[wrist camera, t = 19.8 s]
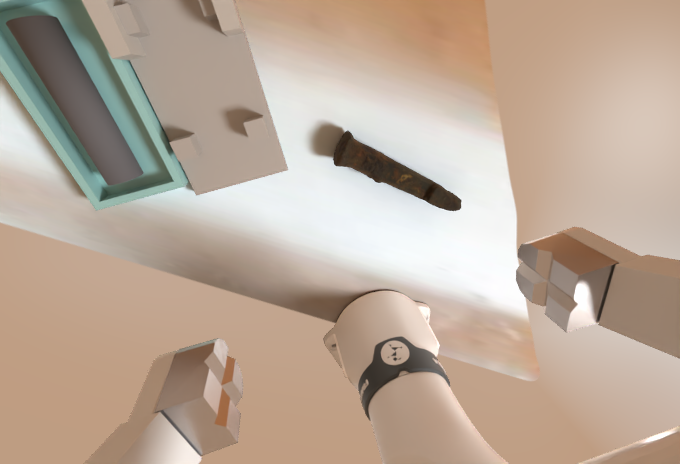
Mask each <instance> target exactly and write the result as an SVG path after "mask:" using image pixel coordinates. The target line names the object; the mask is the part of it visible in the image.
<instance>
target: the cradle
mask: <svg viewBox="0 0 680 464" xmlns="http://www.w3.org/2000/svg"><path fill="white" fill-rule="evenodd" d="M82 2H83V4H84V5H85V7H86V9H87V11H88V13H89V15H90V17H91V19H92V21H93V23H94V25H95V27H96V29H97V31H98V33H99V34H100V36H101V38H102V40H103V42H104V44H105V46H106V48H107V50H108V52H109V54H110V56H111V58H112V59H121V60H130V62H131V64H132V66H133V68H134V70H135V72H136V74H137V76H138V78H139V80H140V82H141V84H142V86H143V88H144V90H145V92H146V94H147V96H148V98H149V100H150V102H151V105H152V107H153V109H154V111H155V113H156V115H157V117H158V119H159V121H160V123H161V125H162V127H163V129H164V131H165V133H166V135H167V137H168V139H169V141H170V142H169V143H170V145H171V147H172V149H173V151H174V153H175V155H176V157H177V159H178V161H179V162H180V163H181V165H182V167H183V169H184V171H185V173H186V175H187V177H188V180H189V182H190V184H191V186H192V188H193V190H194V192H195V194H196V195H200V194H203V193H207V192H210V191H214V190H218V189H221V188H225V187H228V186H232V185H236V184H239V183H243V182H247V181H250V180H254V179H257V178H261V177H265V176H268V175H272V174H275V173H279V172H283V171H286V170H288V168H287V165H286V161H285V158H284V155H283V152H282V149H281V146H280V143H279V139H278V136H277V133H276V130H275V127H274V124H273V120H272V117H271V114H270V111H269V108H268V105H267V101H266V98H265V95H264V92H263V89H262V86H261V82H260V79H259V76H258V73H257V70H256V67H255V63H254V60H253V57H252V54H251V51H250V48H249V44H248V41H247V38H246V35H245V32H244V29H243V25H242V22H241V19H240V16H239V13H238V10H237V6H236V3H235V0H82Z"/></svg>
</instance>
